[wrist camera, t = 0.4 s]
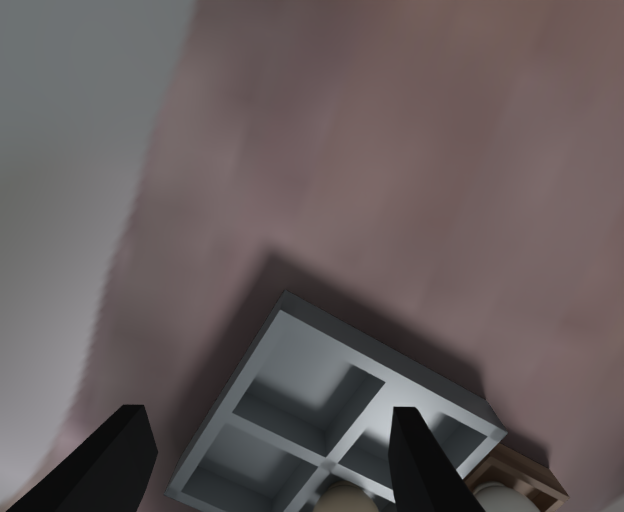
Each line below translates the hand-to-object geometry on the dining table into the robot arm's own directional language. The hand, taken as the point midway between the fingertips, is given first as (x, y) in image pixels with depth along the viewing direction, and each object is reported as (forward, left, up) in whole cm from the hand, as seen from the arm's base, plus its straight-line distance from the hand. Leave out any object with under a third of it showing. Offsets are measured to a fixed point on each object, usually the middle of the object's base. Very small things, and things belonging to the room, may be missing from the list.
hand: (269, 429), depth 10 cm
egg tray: (-8, -7, -10) cm, 15 cm away
